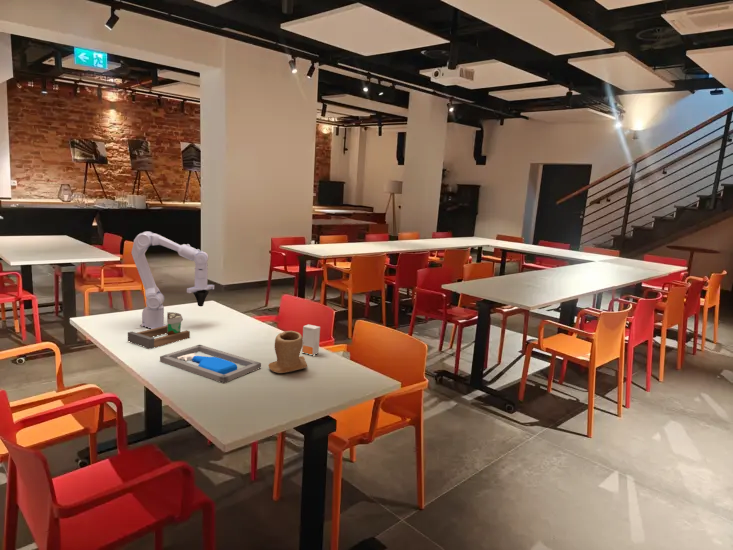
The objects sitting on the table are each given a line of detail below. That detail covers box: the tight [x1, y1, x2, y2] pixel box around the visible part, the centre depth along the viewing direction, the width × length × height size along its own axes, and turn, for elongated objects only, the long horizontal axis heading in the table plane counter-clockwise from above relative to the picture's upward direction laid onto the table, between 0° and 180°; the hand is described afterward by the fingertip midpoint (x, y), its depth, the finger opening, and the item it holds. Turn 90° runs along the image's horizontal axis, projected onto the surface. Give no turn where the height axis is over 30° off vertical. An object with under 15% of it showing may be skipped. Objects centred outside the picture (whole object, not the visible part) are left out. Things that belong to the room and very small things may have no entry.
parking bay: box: [136, 326, 191, 348], centre depth 209 cm, size 14×18×3 cm
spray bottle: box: [177, 353, 238, 375], centre depth 183 cm, size 3×11×24 cm
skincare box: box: [301, 323, 321, 355], centre depth 204 cm, size 6×4×12 cm
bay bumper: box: [127, 331, 155, 349], centre depth 200 cm, size 14×2×4 cm, turn 61°
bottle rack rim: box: [159, 344, 262, 384], centre depth 184 cm, size 33×19×2 cm, turn 61°
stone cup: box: [268, 330, 309, 374], centre depth 184 cm, size 15×12×15 cm
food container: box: [166, 311, 184, 335], centre depth 212 cm, size 12×6×10 cm, turn 23°
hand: (200, 305), depth 229 cm, fingers closed
